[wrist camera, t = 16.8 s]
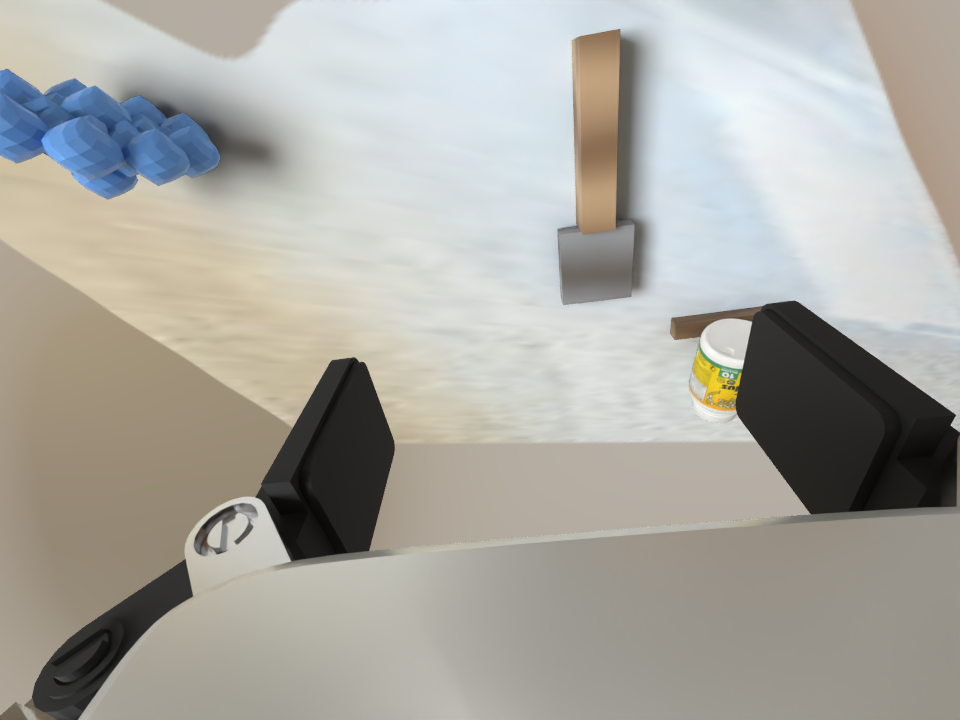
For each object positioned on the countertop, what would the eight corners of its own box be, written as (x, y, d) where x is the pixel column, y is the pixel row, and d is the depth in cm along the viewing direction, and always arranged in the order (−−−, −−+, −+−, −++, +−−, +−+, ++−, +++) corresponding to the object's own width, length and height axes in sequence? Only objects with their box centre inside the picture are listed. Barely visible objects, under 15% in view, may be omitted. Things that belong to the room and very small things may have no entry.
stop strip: (671, 318, 39) (676, 324, 38) (788, 303, 38) (796, 309, 37) (670, 333, 40) (674, 339, 39) (784, 319, 39) (792, 325, 38)
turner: (547, 44, 28) (552, 41, 26) (633, 29, 28) (648, 23, 25) (559, 293, 38) (564, 309, 35) (624, 285, 37) (633, 300, 35)
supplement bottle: (689, 325, 37) (673, 393, 44) (725, 370, 33) (701, 436, 40) (749, 309, 37) (723, 379, 44) (793, 352, 33) (757, 421, 40)
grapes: (81, 152, 32) (-103, 185, 22) (67, 49, 29) (-160, 31, 19) (241, 208, 34) (138, 261, 24) (246, 117, 31) (128, 135, 21)
